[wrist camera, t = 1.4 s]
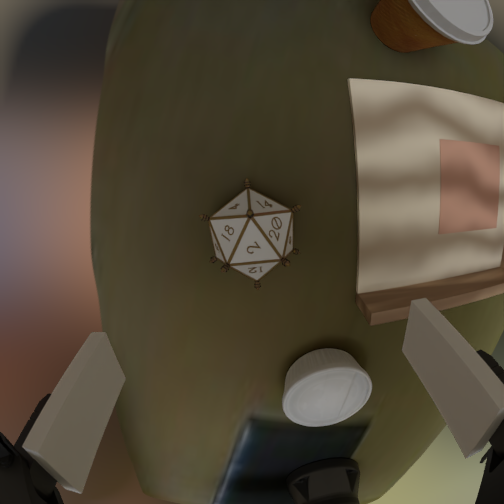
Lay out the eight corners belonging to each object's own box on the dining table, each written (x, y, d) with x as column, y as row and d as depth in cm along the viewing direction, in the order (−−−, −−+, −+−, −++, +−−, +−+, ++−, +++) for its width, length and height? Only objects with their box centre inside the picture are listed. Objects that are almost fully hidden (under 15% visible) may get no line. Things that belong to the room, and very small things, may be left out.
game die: (242, 200, 33) (233, 144, 23) (311, 236, 31) (329, 190, 22) (196, 268, 31) (167, 234, 21) (268, 311, 29) (270, 294, 20)
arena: (501, 273, 33) (521, 286, 28) (355, 302, 33) (370, 325, 29) (509, 105, 25) (533, 105, 20) (347, 79, 25) (365, 68, 20)
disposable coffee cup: (443, 45, 23) (509, 22, 12) (398, 80, 25) (468, 58, 14) (390, -16, 20) (440, -60, 9) (338, 14, 22) (382, -40, 11)
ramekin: (368, 379, 38) (379, 405, 33) (297, 409, 39) (302, 437, 35) (347, 326, 35) (360, 352, 30) (264, 362, 36) (267, 391, 31)
